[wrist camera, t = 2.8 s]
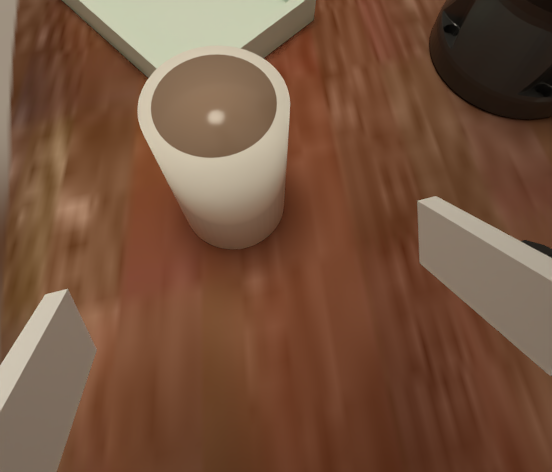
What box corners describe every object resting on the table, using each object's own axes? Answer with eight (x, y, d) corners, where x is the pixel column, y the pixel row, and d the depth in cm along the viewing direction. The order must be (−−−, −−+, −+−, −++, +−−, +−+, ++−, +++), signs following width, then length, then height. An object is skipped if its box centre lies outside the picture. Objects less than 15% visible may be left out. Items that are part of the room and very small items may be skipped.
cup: (236, 142, 34) (219, 22, 23) (304, 202, 32) (321, 103, 21) (164, 202, 32) (106, 102, 21) (231, 270, 30) (207, 200, 19)
